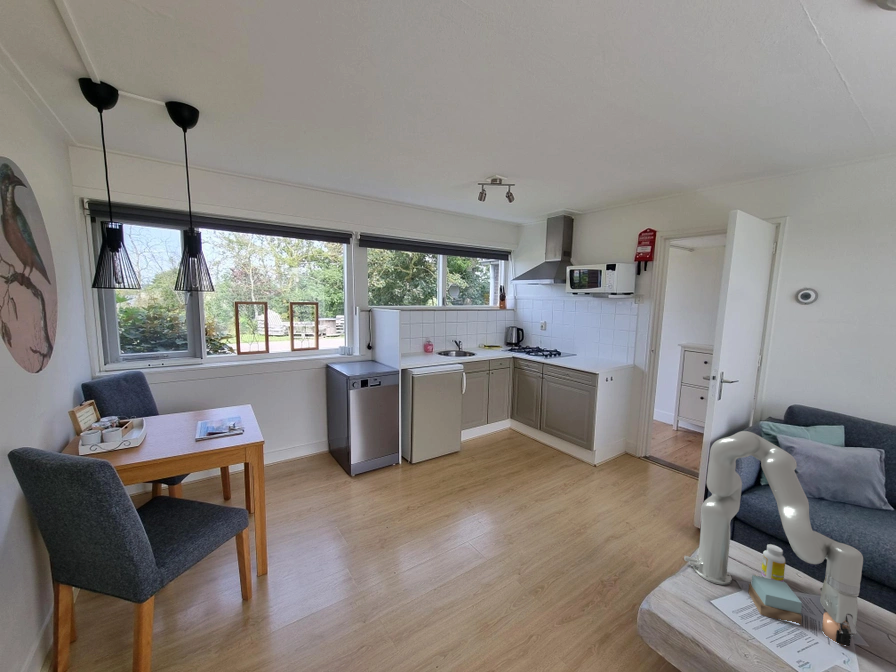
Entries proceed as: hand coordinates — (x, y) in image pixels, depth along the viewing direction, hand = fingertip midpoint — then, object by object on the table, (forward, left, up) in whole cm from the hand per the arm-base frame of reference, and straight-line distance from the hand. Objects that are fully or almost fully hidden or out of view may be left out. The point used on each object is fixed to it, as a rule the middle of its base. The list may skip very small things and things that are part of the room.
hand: (836, 634), depth 118 cm
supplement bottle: (-8, +25, -1) cm, 26 cm away
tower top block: (-14, +6, +3) cm, 15 cm away
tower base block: (-14, +6, -1) cm, 15 cm away
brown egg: (0, 0, -1) cm, 1 cm away
